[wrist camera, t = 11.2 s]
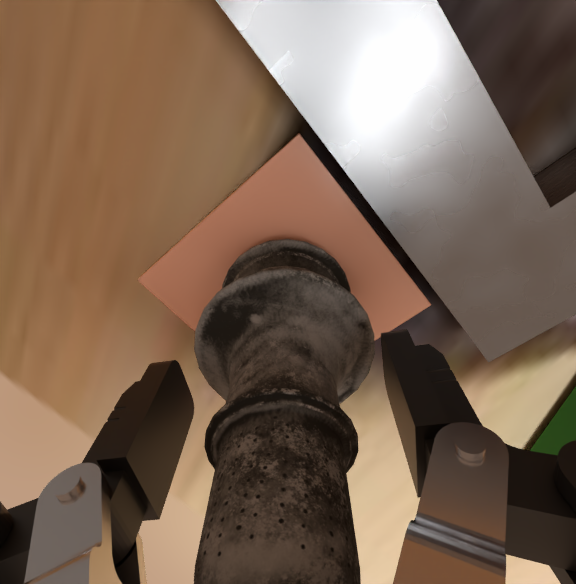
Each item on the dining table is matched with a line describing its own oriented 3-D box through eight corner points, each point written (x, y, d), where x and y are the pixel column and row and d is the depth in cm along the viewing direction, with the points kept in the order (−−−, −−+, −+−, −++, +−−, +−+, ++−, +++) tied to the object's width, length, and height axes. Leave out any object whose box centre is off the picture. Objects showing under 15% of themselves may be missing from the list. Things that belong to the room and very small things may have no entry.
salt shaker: (350, 360, 17) (450, 810, 6) (218, 356, 17) (91, 802, 6) (366, 233, 14) (589, 639, 4) (209, 228, 14) (-41, 623, 4)
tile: (299, 132, 14) (299, 133, 14) (427, 298, 17) (431, 304, 17) (142, 274, 17) (137, 280, 16) (276, 395, 20) (275, 403, 19)
